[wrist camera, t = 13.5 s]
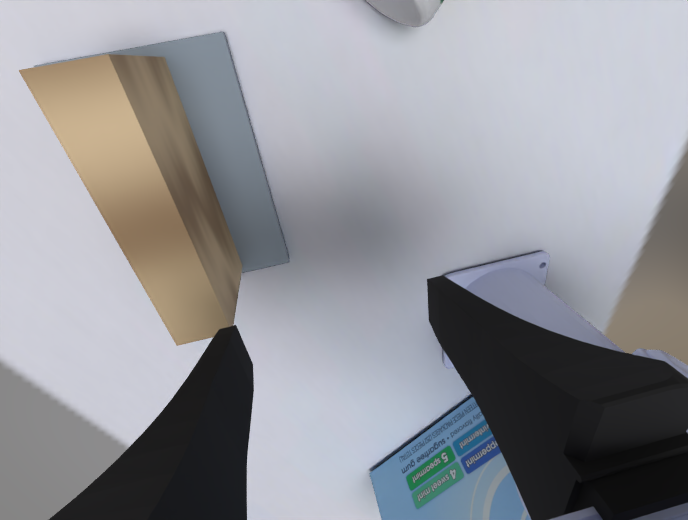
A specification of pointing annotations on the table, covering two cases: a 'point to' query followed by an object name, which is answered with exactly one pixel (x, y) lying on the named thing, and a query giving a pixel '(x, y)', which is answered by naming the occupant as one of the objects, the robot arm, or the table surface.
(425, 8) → the supplement bottle
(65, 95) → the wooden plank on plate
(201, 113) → the grey rectangular plate
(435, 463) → the gum box
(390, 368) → the table surface
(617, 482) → the robot arm
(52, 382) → the table surface
